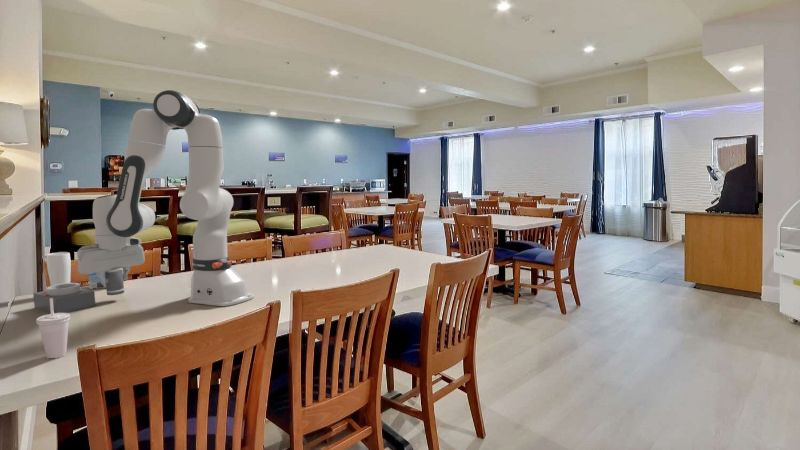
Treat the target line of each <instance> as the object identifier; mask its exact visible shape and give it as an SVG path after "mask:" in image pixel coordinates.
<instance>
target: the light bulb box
mask: <svg viewBox="0 0 800 450" xmlns="http://www.w3.org/2000/svg"><path fill="white" fill-rule="evenodd" d="M122 272H124V270H123V268H122ZM103 276H104V278H105V271H104V275H103ZM124 281H125V280H123V283H124V284H125V282H124ZM88 286H89V287H88V288H90V289H89V290H94V289H93V288H96V289H105V288H106V284H105V285H102V284H101V279H100V278H99V277H98V276H97V275H96V273H93V274H88Z"/></svg>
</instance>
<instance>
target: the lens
mask: <svg viewBox="0 0 800 450" xmlns="http://www.w3.org/2000/svg"><path fill="white" fill-rule="evenodd" d="M123 272H124V271H123ZM123 272H122V267H120V268H114V269H111V270H108V271H105V278H106V279H108V284H106V291H105V292H106V295H107V296H115V295H116V296H117V295H122V294H124V293H125V285H124V284H125V282H124V283H123V281H124V280H123Z"/></svg>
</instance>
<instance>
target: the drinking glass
mask: <svg viewBox="0 0 800 450" xmlns="http://www.w3.org/2000/svg"><path fill="white" fill-rule="evenodd" d="M45 255H46V267H47V274H48V277H49V283H50V286H52V285H57V284H64V283H71V275H72V273H71V269H72V268H71V267H72V265H71V264H72V262H71V261H72V260H71V253H70V252H68V251H58V252H51V253H47V254H45Z"/></svg>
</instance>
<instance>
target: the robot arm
mask: <svg viewBox="0 0 800 450" xmlns="http://www.w3.org/2000/svg"><path fill="white" fill-rule="evenodd" d="M152 105H153V109H152V108H142V109H141V108H140V109H138V110H137V111H136V112H135V113H134V114H133V117H132V121H131V123H130V127H129V130H128V137H127V144H126V145H127V146H126V150H125V151H126V152H125V158H124V162H123V166H122V169H121V173H120V177H119V178H120V179H119V183H118V187H117V191H116V194H113V193H111V194H107V195H106V194H105V195H101V196H98V197H96V198H95V199H94V200H93V203H92V221H93V224H94V227H95V229H94V242H95V244H90V245H83V246H81V247H80V248H79V249H78V250H77V253H76V254H77V258H78V261H77V271H78V273H79V274H81V275H85V276H86V275H89V274H93V273H96V275H97V276H98V277H99V278H100V279H101V284H102V285H105V284H108V279H106V278H104V276H103V275H104V271H108V270H111V269H114V268H120V267H122V268H123V281H126V280H127V281H128V275H129V273H130V271H131V267H134V266H139V265H143V264H144V263H145V260H146V258H145V250H144V247H143V246H142V239H141V238H138V237H133V236H135V235H137V234H139V233H141V232H144V231H146V230H148V229H150V228H152V227H153V225H154V224H155V222H156V219H157V216H156V213H155V211H154V209H153V208H152V207H151V206H149V205H147V204H143V203H140V200H141V194H142V188H143V185H144V181H145V179H146V178H147V176H148V175H149V174H150V173H152V171H154V170H155V169H156V168H158V167H159V166H160V165H161V163H162V162H163V159H164V156H165V151H166V145H167V139H168V138H167V137H168V133H169V132H170V130H173V131H175V130H184V131H185V132H186V135H187V144H188V145H187V147H188V148H187V149H188V151H187V152H188V174H187V175H188V176H187V182H186V184H185V185H186V186H185V191H184V193H183V195H182V197H181V198H180V201H179V209H180V211H181V213H182V214H183V215H184V217H186V218H188V219H191V220H195V221H197V225H196V229H195V231H194V233H193V235H192V236H193V237H192V247H193V248H192V250H193V258H192V262H191V265H192V269H193V274H192V276H191V280H190V282H191V283H190V294H189V295H190V297H189V298H188V299H187V302H188V303H189V304H198V305H207V306H208V305H209V306H217V307H227V306H229V307H230V306H233V305H237V304H241V303H245V302H247V301H250V300H251V299H253V298H254V297H255V295H254V293H251V292H249V291H247V284H246V281H245V279H244V278H243V277H241V275H240V274H238V273H237V272H236V271H235V270H234V269H233V268H232V264H233V262H234V260H233V259H231V260H230V257H229V256H228V228H229V224H230V223H229V222H230V218H231V212H232V208H233V206H234V197H233V195H232V194H231V193H230V192H229V191H228V190H227V189H224V188H222V187H220V184H221V178H222V175H223V174H224V172H225V163H224V143H223V135H222V134H223V133H222V129H221V126H220V122H219V120H218V119H217V118H215V116H212V115H210V114H203V113H201V112H200V111H201V110H200V108H199V106H198V105H197V104H196V102H194V100H192V99H191V98H190V97H189V96H187V95H185V94H183V93H181V92H179V91H177V90H171V89H169V90H168V89H167V90H163V91H160V92H159V93H157V94H156V95H155V97H154V99H153V102H152Z"/></svg>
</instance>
